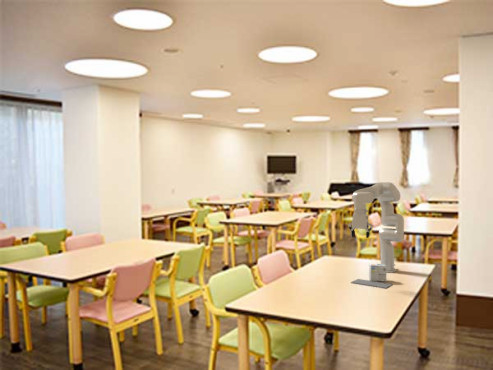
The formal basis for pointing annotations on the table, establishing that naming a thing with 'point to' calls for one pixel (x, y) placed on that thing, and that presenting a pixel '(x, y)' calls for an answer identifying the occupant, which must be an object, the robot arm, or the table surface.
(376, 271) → the light bulb box
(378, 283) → the mat
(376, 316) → the table surface
